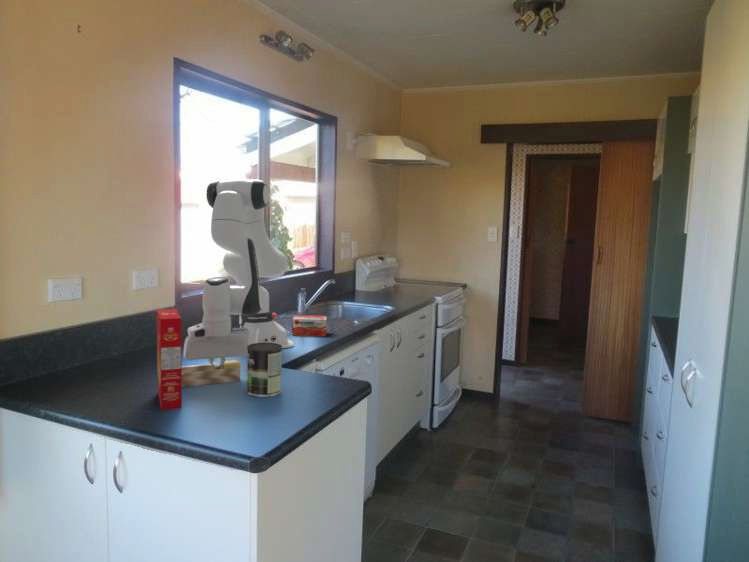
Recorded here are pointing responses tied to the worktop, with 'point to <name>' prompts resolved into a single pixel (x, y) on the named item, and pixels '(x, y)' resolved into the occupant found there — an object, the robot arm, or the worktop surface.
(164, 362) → the food packaging
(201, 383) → the u-shaped frame
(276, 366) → the coffee can
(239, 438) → the worktop surface
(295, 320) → the medicine box
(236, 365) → the block
